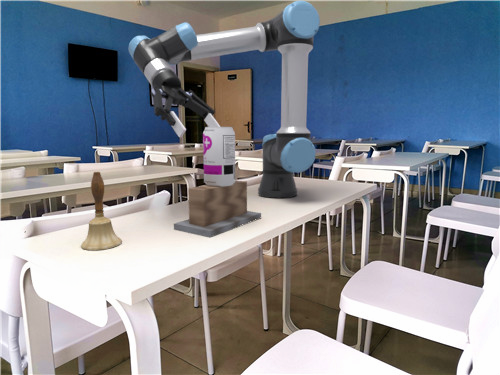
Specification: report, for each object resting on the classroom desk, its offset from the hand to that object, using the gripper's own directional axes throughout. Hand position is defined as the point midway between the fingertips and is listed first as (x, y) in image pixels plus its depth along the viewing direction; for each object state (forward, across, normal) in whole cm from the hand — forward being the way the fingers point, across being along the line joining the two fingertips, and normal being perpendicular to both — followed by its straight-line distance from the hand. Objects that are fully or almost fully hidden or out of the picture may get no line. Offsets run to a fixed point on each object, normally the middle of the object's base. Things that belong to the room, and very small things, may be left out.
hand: (202, 133), depth 92 cm
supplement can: (+13, -1, -6) cm, 15 cm away
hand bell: (+15, +28, -20) cm, 37 cm away
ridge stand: (+21, -1, -13) cm, 24 cm away
